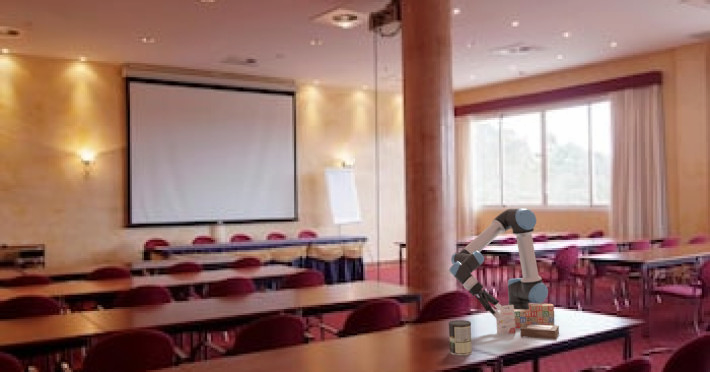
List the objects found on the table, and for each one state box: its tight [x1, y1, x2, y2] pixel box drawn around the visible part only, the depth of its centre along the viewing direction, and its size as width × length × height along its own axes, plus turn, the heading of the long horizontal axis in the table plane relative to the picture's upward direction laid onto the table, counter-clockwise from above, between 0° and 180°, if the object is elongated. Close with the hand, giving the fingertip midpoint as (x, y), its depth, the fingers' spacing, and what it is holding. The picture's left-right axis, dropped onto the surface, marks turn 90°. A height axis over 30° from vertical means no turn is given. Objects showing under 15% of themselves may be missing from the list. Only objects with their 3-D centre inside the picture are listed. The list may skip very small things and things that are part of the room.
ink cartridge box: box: [495, 304, 516, 335], centre depth 333 cm, size 9×5×15 cm, turn 105°
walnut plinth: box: [520, 324, 560, 340], centre depth 325 cm, size 13×17×4 cm
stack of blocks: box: [514, 302, 555, 329], centre depth 345 cm, size 21×6×12 cm, turn 84°
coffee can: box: [448, 319, 473, 356], centre depth 294 cm, size 10×10×14 cm
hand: (502, 315), depth 333 cm, fingers open, 13 cm apart
